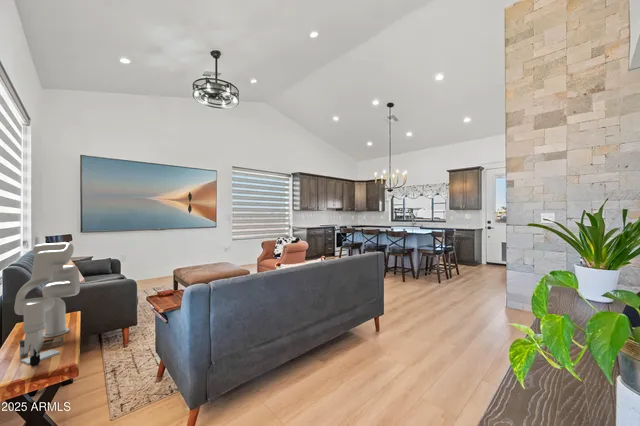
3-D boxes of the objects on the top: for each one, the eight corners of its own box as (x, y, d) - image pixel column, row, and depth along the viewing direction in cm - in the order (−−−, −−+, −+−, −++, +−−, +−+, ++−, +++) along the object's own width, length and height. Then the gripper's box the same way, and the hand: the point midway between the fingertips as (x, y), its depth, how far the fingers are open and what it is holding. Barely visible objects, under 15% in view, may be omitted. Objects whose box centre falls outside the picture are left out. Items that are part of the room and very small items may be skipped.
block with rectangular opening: (35, 346, 160) (35, 341, 160) (63, 341, 166) (63, 336, 166) (31, 351, 155) (31, 345, 155) (61, 345, 161) (61, 340, 161)
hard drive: (52, 348, 155) (20, 359, 144) (59, 351, 152) (28, 362, 140) (52, 351, 155) (20, 362, 144) (59, 354, 152) (28, 366, 140)
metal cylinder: (20, 355, 151) (21, 339, 151) (29, 353, 152) (29, 338, 152) (18, 357, 148) (18, 342, 148) (27, 355, 150) (27, 340, 150)
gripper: (29, 323, 145) (29, 359, 145) (18, 334, 132) (18, 373, 132) (49, 320, 149) (49, 355, 149) (40, 330, 136) (41, 368, 136)
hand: (35, 364), depth 140 cm, fingers closed
